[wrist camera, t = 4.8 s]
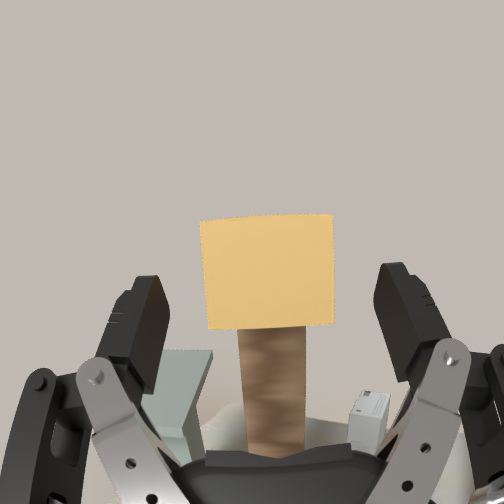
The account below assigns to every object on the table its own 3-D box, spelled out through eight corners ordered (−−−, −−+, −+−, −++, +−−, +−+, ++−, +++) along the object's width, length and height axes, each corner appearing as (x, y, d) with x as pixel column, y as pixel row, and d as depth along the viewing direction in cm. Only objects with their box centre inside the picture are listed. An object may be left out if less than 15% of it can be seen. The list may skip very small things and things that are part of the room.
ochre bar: (285, 245, 30) (283, 214, 30) (334, 323, 8) (332, 214, 8) (249, 247, 30) (247, 216, 30) (209, 329, 9) (199, 221, 8)
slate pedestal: (230, 477, 35) (212, 350, 33) (218, 553, 21) (181, 428, 19) (175, 473, 36) (144, 348, 33) (150, 544, 22) (86, 415, 19)
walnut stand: (312, 474, 35) (317, 242, 31) (324, 550, 21) (356, 265, 17) (240, 477, 35) (217, 248, 32) (232, 554, 21) (180, 274, 18)
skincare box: (369, 484, 31) (384, 419, 29) (339, 478, 33) (348, 414, 32) (381, 456, 36) (394, 392, 34) (353, 451, 38) (361, 388, 37)
